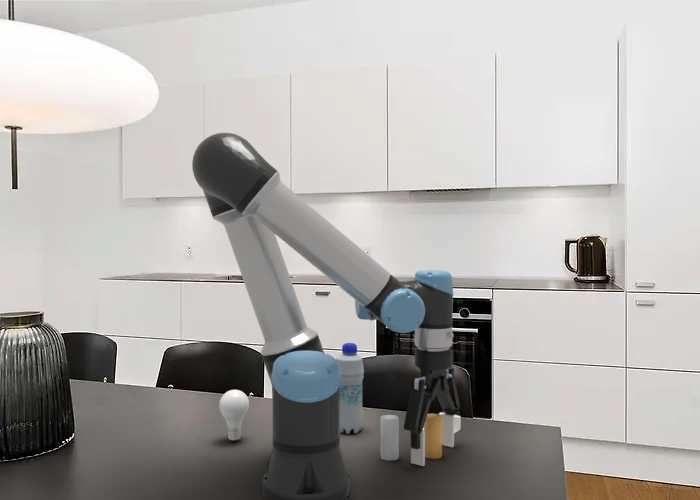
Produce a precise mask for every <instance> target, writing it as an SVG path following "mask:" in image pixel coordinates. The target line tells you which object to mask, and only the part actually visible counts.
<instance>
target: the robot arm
mask: <svg viewBox="0 0 700 500" xmlns="http://www.w3.org/2000/svg"><path fill="white" fill-rule="evenodd" d="M191 168H192V170H191V171H192V173H193V176H194V179H195V181H196V183H197V185H198V186H199V187H200V189H202V191H203V194H204V197H205V199H206V202H207V205H208V208H209V211H210V213H211V214H210V215H212V219H213V220H214V221H217V222H219V223H221V224H222V225H223V226H224V228H225V232H226V234H227V237H228V239H229V240H228V241H229V243H230V245H231V249H232V252H233V255H234V258H235V260H236V262H237V265H238V268H239V273H240V274H241V277H242V280H243V282H244V286H245V288H246V291H247V294H248V298H249V300H250V303H251V306H252V308H253V311H254V314H255V318H256V321H257V323H258V327H259V329H260V331H261V335H262V336H263V340H264V343H263V346H262V348H261V350H260V355H261V358H262V360H263V363H264V366H265V369H266V372H267V375H268V378H269V380H270V381H269V382H270V384H271V395H272V449H271V453H270V455H269V459H268V462H267V465H266V469H265V470H266V471H265V473H264V475H263V478H262V497H263V498H264V499H265V500H346V499H347V498H348V497H349V495H350V492H351V486H350V485H351V479H350V474H349V472H348V471H347V467H346V463H345V459H344V456H343V453H342V449H341V439H340V438H341V437H340V434H341V432H340V382H341V374H340V369H339V364H338V362H337V360H336V358H335V357H334V356H332V355H330V354H328V353H326V352H325V351H324V348H323V346H322V342H321V340H320V337H319V334H318V332H317V331H316V330H315V329H312V328H310V327H308V326H307V323H306V320H305V317H304V314H303V311H302V308H301V306H300V302H299V300H298V297H297V294H296V290H295V288H294V285H293V282H292V280H291V279H292V278H291V276H290V274H289V270H288V268H287V264H286V262H285V259H284V256H283V253H282V250H281V247H280V244H279V242H278V238H279V239H280V240H282V241H283V242H284V243H285V244H287V245H288V246H289V247H291V248H292V249H293V250H294V251H295V252H296V253H297V254H299V255H300V256H301V257H302V258H303V259H304V260H306V261H307V262H309V263H310V264H311V265H312V266H313V267H315V268H316V269H317V270H318V271H319V272H321V273H322V274H323V275H325V276H326V277H327V278H328V279H329V280H331V281H332V282H333V283H334V284H336V286H338V287H339V288H340V289H342V290H343V291H344V292H345V293H347V295H349V296H350V297H351V298H352V299H354V307H355V314H356V316H357V318H358V319H359V320H367V321H369V320H370V321H374V320H375V321H379V322H381V323H383V324H384V326H385V327H386V328H387V329H389V330H390V331H392V332H395V333H401V334H407V333H411V332H414V345H415V346H416V348H415V349H414V366H415V367H416V368H418V369H419V370H420V373H419V377H417V378H415V377H412V378H411V379H410V391H409V392H410V393H409V396H408V398H409V399H408V403H407V408H406V414H405V417H404V418H405V419H404V422H403V423H404V424H403V430H404V431H409V432H410V464H412V465H416V466H417V465H418V466H421V467H424V466H425V465H426V457H425V432H424V431H422V430H423V428H424V424H425V420H426V417H427V414H429V410H430V407H431V403H432V401H434V400H435V398H436V397H437V399H438V402H439V404H440V407H441V409H442V414H441V416H442V446H444V447H449V448H454V447H455V433H454V415H457V416H460V407H461V404H460V399H459V395H458V390H457V383H456V379H455V368H454V367H453V356H454V355H453V350H452V348H451V347H452V346H453V338H454V335H455V334H454V333H453V312H454V311H453V309H454V307H453V306H454V304H453V303H454V301H453V300H454V288H453V287H454V286H453V276H452V274H451V273H450V272H449V271H448V270H447V271H446V270H439V269H438V270H436V269H435V270H433V269H432V270H431V269H430V270H429V269H428V270H426V269H425V270H418V271H416V272H415V273H414V278H413V280H407V281H405V280H404V281H400V280H399V279H397V278H396V277H394V276H393V275H392V274H391V273H390V271H388V270H387V269H385V267H383V266H382V265H381V264H379V263H378V262H377V261H376V260H375V259H374V258H372V257H371V256H370V255H369V254H368V253H366V252H365V250H363V249H362V248H361V247H359V246H358V245H357V244H356V243H354V242H353V240H351V239H350V238H349V237H348V236H346V235H345V234H344V233H343V232H342V231H340V230H339V229H338V228H337V227H336V226H334V224H332V223H331V222H329V220H327V219H326V218H325V217H324V216H323V215H322V214H320V213H319V212H318V211H317V210H315V209H314V208H313V207H312V206H311V205H310V204H308V203H307V202H306V201H304V200H303V199H302V198H301V197H300V196H299V195H298V194H296V193H295V192H294V191H293V190H291V189H290V188H289V187H288V186H287V185H286V184H284V183H283V182H282V181H281V175H280V172H279V170H277V169H276V168H275V167H273V166H272V165H271V164H270V163H269V162H268V161H267V160H266V159H265V158H264V157H263V156H262V155H261V154H260V153H259V152H258V150H257V149H255V147H254V146H253V145H252V144H251V143H250V142H249V140H247V139H245V138H244V137H242V136H241V135H238V134H236V133H231V132H218V133H216V134H215V133H214V134H212V135H209V136H207V137H206V138H205V139H204V140H203V141H201V142H200V143H199V144H198V146H197V147H196V148H195V151H194V154H193V157H192V163H191ZM277 237H278V238H277ZM443 413H445V414H443Z"/></svg>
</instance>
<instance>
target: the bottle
mask: <svg viewBox="0 0 700 500" xmlns="http://www.w3.org/2000/svg"><path fill="white" fill-rule="evenodd" d="M341 349H342V350H341V352H342V354H340V355H338V356H337V357H336V358H335V359H336V360H337V362H338V364H339V369H340V374H341V382H340V434H341V433H344V432H345V433H346V434H347V435H350V434H351V431H352V430H353V431H352V432H353V433H354V434H357V433H359V432H360V431H362V430H363V427H364V411H363V379H364V378H365V376H364V373H365V369H364V361H363V357H362V356H360V355H358V354H357V353H358V346H357V344H356V343H353V342H346V343H345V342H344V344H342V348H341Z"/></svg>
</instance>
